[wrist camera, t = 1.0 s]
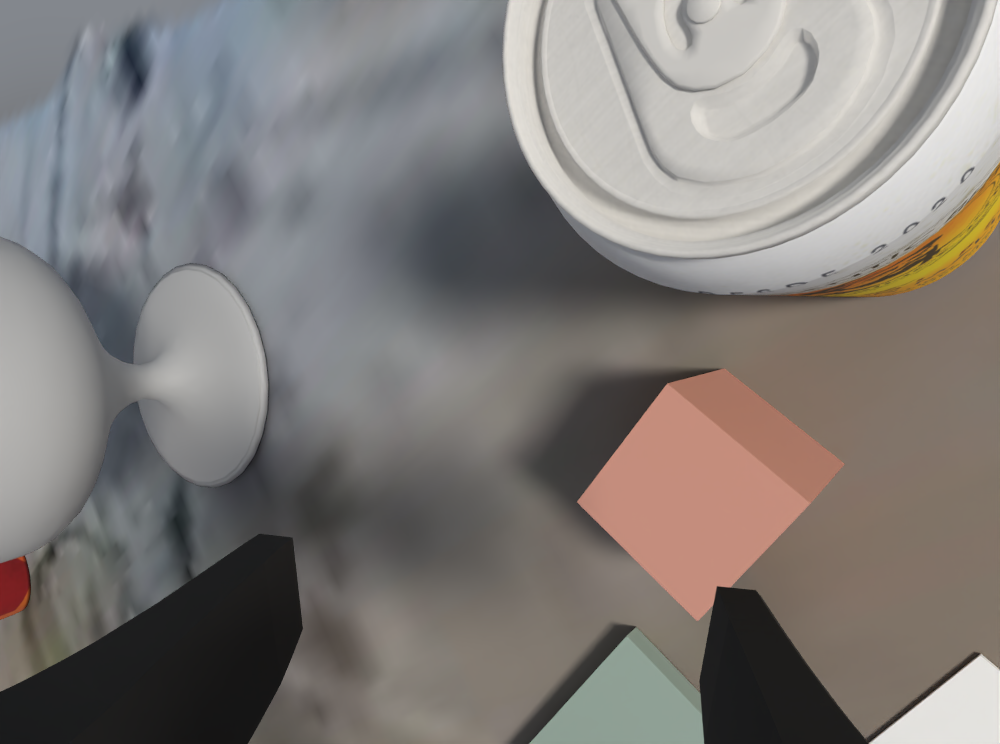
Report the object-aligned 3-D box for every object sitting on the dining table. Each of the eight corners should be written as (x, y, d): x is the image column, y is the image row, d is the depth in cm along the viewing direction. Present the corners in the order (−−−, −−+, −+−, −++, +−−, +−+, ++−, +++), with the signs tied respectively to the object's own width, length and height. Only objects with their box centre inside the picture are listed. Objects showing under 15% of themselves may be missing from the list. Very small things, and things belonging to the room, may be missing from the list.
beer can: (829, 335, 21) (605, 386, 9) (731, 163, 22) (410, -8, 10) (1064, 219, 18) (1239, 38, 5) (934, 24, 19) (834, -488, 7)
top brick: (845, 463, 21) (810, 503, 17) (749, 563, 23) (697, 621, 19) (725, 368, 23) (667, 383, 19) (645, 468, 25) (577, 502, 21)
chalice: (160, 207, 40) (-212, 165, 28) (317, 316, 33) (-76, 326, 21) (116, 420, 44) (-218, 467, 32) (247, 553, 38) (-109, 675, 26)
